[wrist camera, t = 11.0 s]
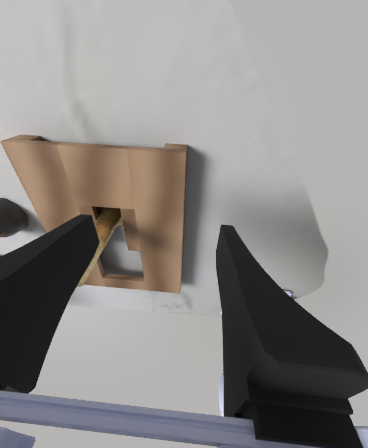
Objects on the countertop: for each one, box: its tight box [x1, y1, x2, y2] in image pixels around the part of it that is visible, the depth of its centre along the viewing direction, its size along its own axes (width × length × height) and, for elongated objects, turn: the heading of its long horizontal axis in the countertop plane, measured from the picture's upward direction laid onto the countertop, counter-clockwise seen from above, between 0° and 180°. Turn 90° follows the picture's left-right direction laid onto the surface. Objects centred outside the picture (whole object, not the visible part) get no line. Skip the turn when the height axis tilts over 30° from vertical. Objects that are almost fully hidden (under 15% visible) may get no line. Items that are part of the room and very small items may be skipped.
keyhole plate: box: [0, 135, 188, 293], centre depth 24 cm, size 16×20×2 cm
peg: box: [77, 207, 123, 287], centre depth 19 cm, size 4×4×10 cm
